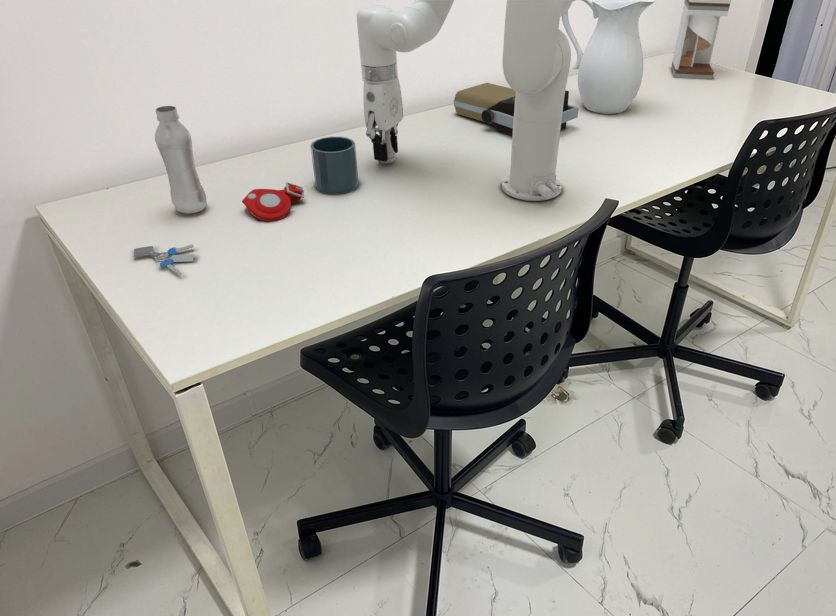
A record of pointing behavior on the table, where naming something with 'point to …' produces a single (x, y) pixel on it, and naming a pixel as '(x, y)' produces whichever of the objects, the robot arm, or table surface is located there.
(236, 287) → the table surface
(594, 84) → the pitcher
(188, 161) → the plastic bottle
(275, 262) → the table surface
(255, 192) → the tracker holder
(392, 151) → the rook chess piece
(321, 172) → the tumbler
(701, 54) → the spiral staircase tower model
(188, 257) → the key chain
